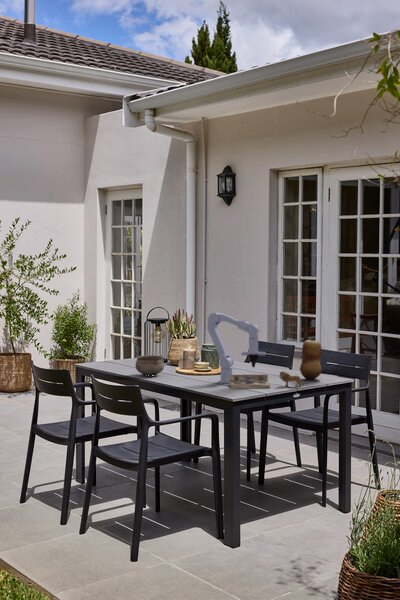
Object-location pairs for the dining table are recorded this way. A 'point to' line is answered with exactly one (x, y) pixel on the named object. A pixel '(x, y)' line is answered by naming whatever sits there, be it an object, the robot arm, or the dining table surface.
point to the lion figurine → (290, 378)
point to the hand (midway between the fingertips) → (253, 367)
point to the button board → (244, 378)
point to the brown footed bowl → (149, 364)
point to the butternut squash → (311, 359)
